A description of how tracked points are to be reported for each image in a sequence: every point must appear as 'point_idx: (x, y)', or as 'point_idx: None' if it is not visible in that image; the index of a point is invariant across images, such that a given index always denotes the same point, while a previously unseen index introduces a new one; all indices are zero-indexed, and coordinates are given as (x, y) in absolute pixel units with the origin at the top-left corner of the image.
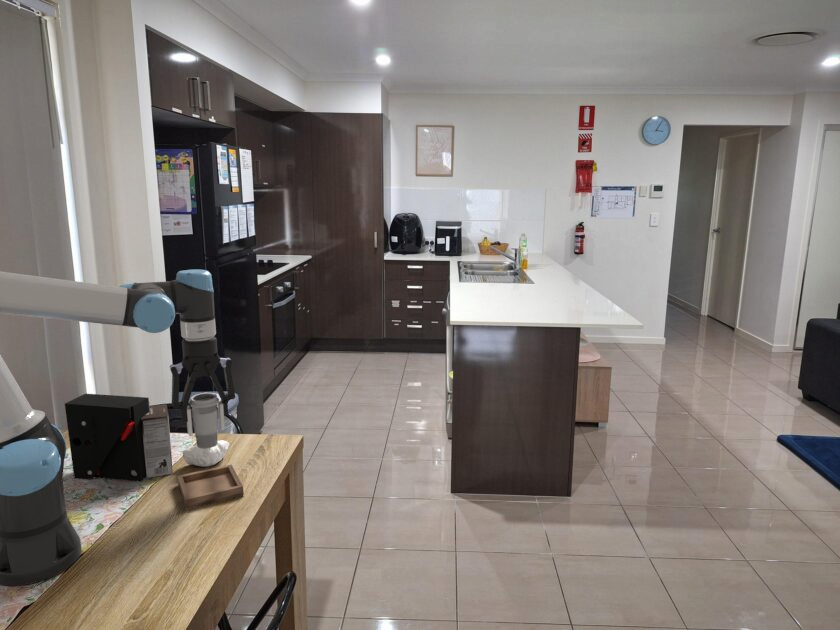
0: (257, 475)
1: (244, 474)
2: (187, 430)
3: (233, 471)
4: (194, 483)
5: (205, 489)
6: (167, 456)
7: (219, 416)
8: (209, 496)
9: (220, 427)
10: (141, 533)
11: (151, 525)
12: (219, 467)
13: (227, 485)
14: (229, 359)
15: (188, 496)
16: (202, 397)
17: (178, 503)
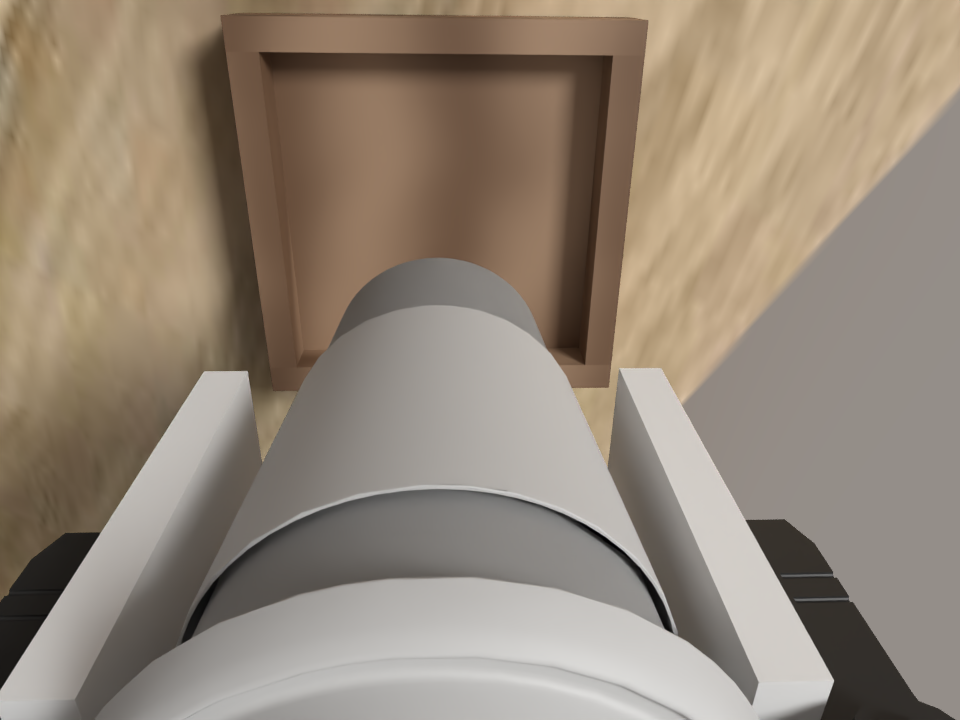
0: (765, 142)
1: (699, 80)
2: (196, 386)
3: (622, 156)
4: (348, 112)
5: (407, 238)
6: None
7: (653, 522)
8: None
9: (614, 438)
10: (78, 471)
11: (116, 426)
12: (550, 29)
13: (542, 250)
14: None
15: (292, 361)
16: (432, 638)
17: (245, 273)
